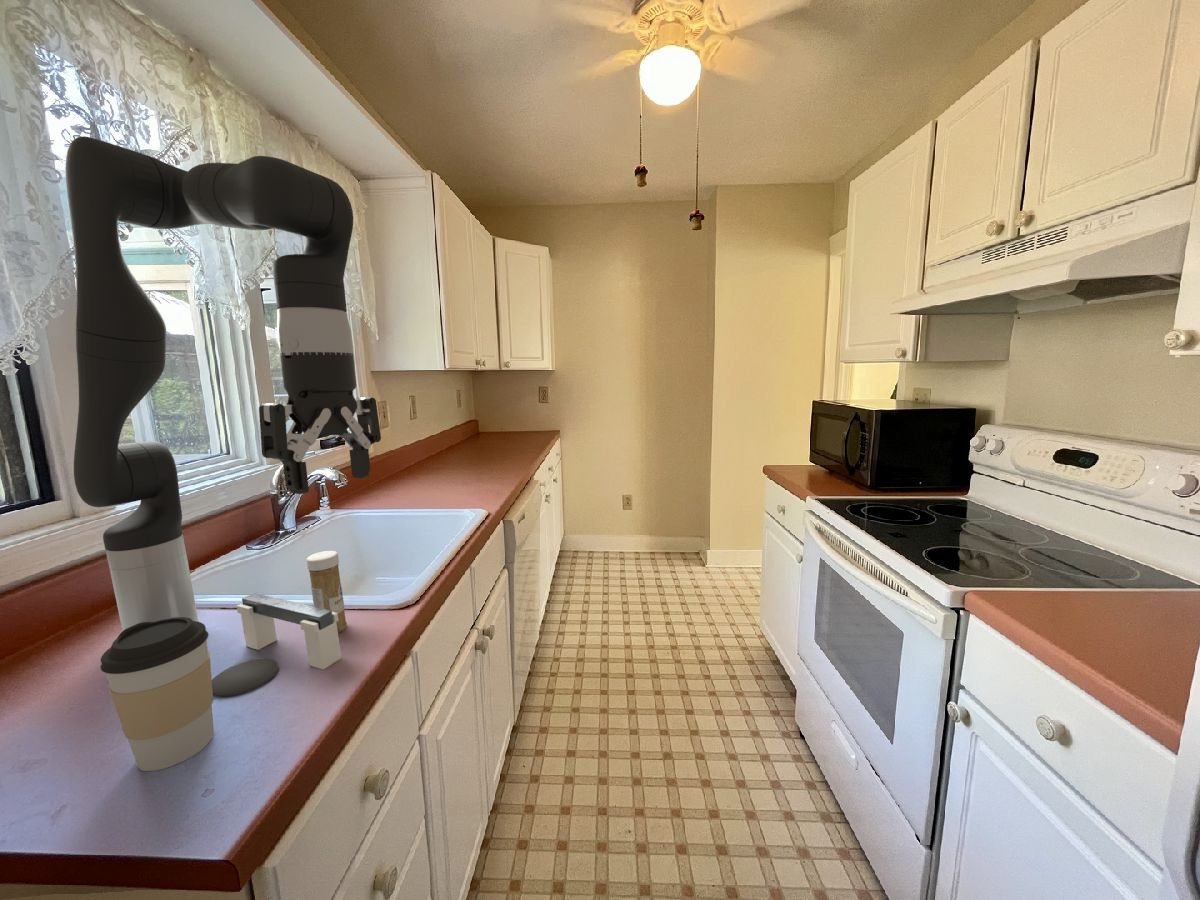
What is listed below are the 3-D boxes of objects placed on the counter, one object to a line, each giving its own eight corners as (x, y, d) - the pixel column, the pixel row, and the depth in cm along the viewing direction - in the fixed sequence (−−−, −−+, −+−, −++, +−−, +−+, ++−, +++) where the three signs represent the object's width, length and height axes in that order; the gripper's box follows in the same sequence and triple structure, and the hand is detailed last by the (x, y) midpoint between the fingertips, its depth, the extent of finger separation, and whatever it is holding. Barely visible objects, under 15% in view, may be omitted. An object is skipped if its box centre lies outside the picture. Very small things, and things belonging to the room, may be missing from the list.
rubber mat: (196, 689, 67) (195, 685, 67) (256, 657, 74) (255, 654, 74) (231, 702, 64) (231, 698, 64) (290, 668, 71) (290, 664, 71)
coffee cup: (244, 724, 60) (224, 612, 57) (164, 785, 51) (137, 655, 49) (187, 715, 62) (166, 606, 59) (101, 772, 53) (72, 647, 51)
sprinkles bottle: (348, 631, 81) (339, 555, 79) (317, 640, 79) (306, 562, 77) (345, 620, 85) (336, 547, 83) (316, 628, 83) (305, 553, 80)
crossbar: (243, 610, 77) (241, 598, 77) (256, 604, 79) (254, 593, 79) (320, 629, 70) (319, 617, 70) (333, 623, 72) (331, 610, 72)
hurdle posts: (243, 647, 77) (236, 605, 76) (267, 635, 81) (261, 595, 80) (320, 671, 70) (314, 625, 69) (343, 656, 74) (337, 612, 73)
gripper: (345, 353, 65) (357, 472, 67) (232, 349, 52) (252, 496, 54) (388, 352, 62) (399, 475, 65) (280, 347, 49) (299, 502, 51)
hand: (332, 484), depth 59 cm, fingers open, 8 cm apart
